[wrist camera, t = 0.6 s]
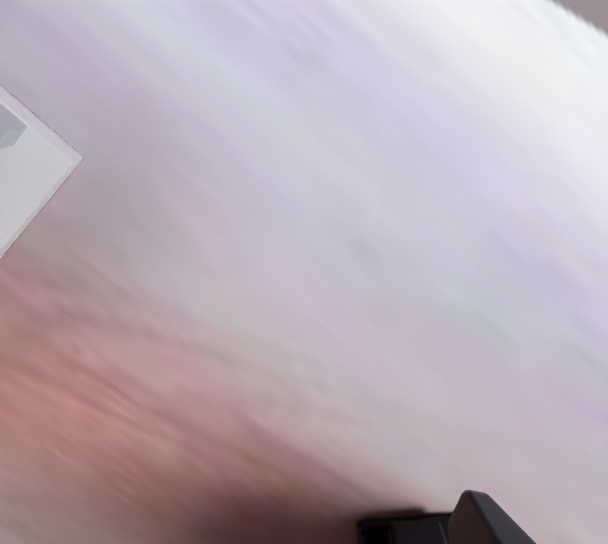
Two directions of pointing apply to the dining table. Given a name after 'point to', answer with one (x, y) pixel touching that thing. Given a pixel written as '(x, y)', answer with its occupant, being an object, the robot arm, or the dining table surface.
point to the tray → (27, 167)
